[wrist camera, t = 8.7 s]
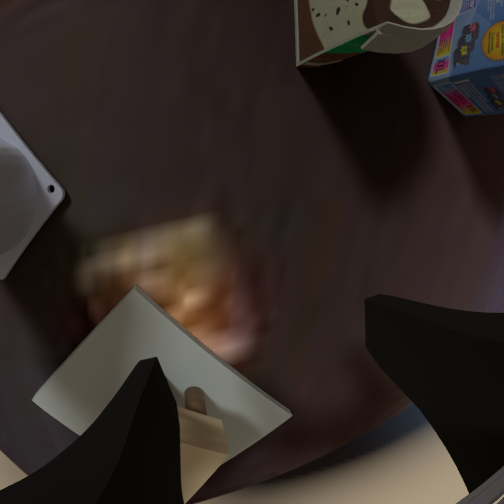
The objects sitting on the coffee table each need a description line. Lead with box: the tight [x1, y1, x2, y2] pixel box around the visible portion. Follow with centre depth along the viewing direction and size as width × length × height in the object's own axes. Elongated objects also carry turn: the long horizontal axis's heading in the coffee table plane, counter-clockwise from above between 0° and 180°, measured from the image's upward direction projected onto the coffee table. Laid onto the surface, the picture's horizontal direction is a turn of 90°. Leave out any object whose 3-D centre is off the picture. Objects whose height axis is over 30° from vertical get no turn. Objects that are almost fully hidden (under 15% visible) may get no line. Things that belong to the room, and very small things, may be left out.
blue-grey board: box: [32, 285, 292, 465], centre depth 21 cm, size 16×14×1 cm
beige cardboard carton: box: [165, 376, 229, 504], centre depth 18 cm, size 5×9×6 cm, turn 150°
